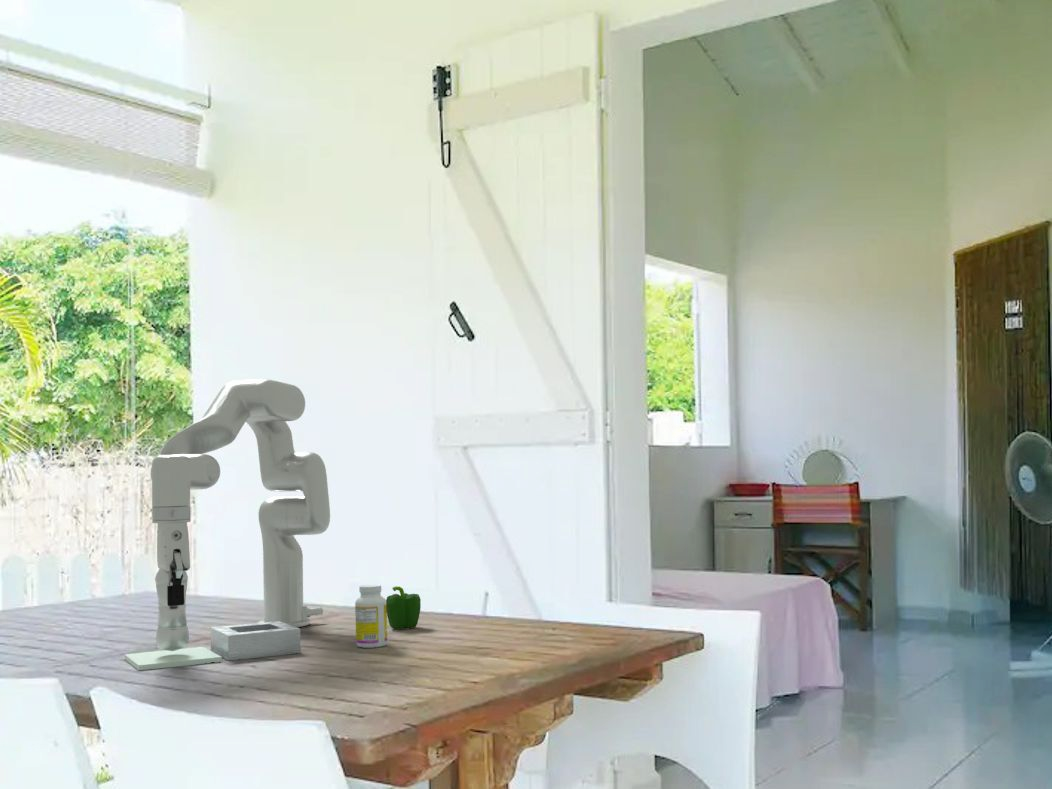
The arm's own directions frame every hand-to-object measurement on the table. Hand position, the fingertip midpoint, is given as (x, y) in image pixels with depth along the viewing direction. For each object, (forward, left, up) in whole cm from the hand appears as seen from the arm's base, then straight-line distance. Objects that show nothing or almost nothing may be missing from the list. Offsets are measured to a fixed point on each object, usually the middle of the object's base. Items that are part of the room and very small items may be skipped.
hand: (172, 602), depth 234 cm
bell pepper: (-56, -13, -12) cm, 59 cm away
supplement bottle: (-40, +8, -12) cm, 42 cm away
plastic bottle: (0, 0, -10) cm, 10 cm away
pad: (0, 0, -12) cm, 12 cm away
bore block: (-17, 0, -12) cm, 20 cm away
